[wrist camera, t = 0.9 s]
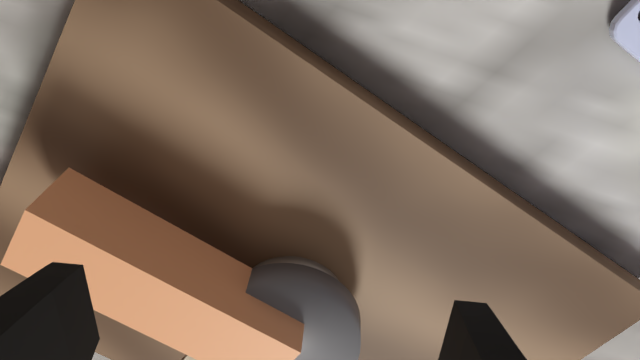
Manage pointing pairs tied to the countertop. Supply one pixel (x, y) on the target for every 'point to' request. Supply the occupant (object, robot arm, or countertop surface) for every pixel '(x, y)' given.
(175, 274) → the orange bar
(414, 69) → the countertop surface
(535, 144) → the countertop surface
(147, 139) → the lock board
